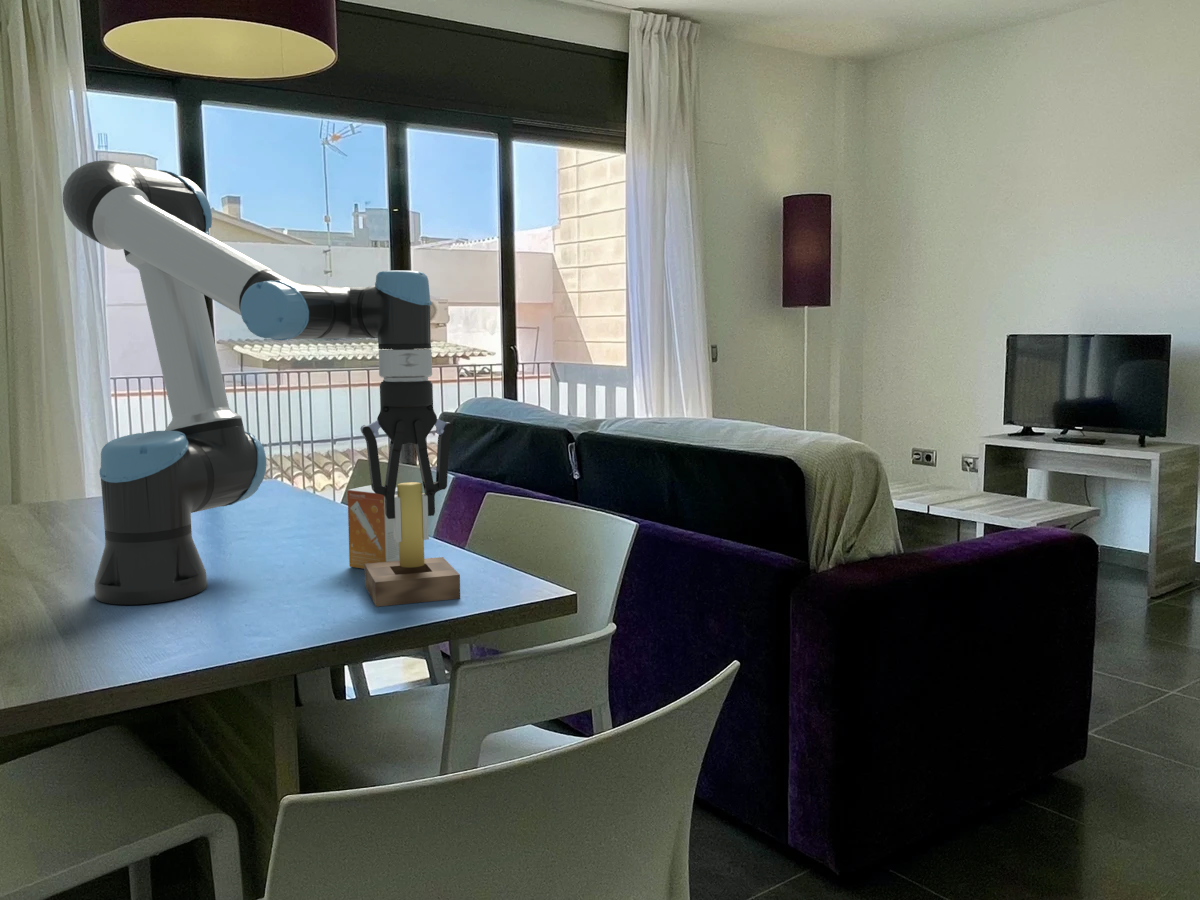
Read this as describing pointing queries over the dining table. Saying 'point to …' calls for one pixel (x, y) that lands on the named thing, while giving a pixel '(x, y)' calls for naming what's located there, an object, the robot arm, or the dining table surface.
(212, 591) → the dining table surface
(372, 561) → the small box
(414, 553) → the peg
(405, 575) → the socket block
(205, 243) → the robot arm
